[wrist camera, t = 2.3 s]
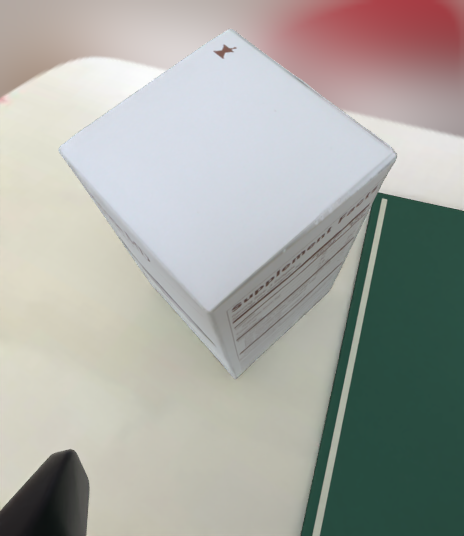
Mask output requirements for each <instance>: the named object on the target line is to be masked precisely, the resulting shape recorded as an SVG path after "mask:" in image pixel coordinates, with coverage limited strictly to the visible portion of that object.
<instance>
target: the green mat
mask: <svg viewBox="0 0 464 536" xmlns="http://www.w3.org/2000/svg"><path fill="white" fill-rule="evenodd" d="M301 536H464V211H461V210H457V209H452V208H447V207H443V206H438V205H434V204H429V203H424V202H420V201H415V200H411V199H406V198H401V197H397V196H392V195H388V194H383V193H377V195H376V197H375V199H374V201H373V203H372V207H371V211H370V216H369V221H368V225H367V230H366V235H365V239H364V244H363V249H362V253H361V258H360V262H359V267H358V272H357V276H356V281H355V286H354V290H353V295H352V300H351V304H350V309H349V313H348V318H347V323H346V327H345V332H344V337H343V341H342V346H341V351H340V355H339V360H338V364H337V369H336V374H335V378H334V383H333V388H332V392H331V397H330V402H329V406H328V411H327V415H326V420H325V425H324V429H323V434H322V439H321V443H320V448H319V453H318V457H317V462H316V467H315V471H314V476H313V480H312V485H311V490H310V494H309V499H308V504H307V508H306V513H305V518H304V522H303V527H302V531H301Z"/></svg>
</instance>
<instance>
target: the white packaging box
mask: <svg viewBox="0 0 464 536" xmlns="http://www.w3.org/2000/svg"><path fill="white" fill-rule="evenodd" d="M59 153H60V154H61V155H62V157H63V158H64V160H65V161H66V162H67V164H68V165H69V167H70V168H71V169H72V171H73V172H74V173H75V175H76V176H77V178H78V179H79V180H80V182H81V183H82V185H83V186H84V188H85V189H86V191H87V192H88V194H89V195H90V196H91V198H92V199H93V201H94V202H95V204H96V205H97V207H98V208H99V209H100V211H101V212H102V214H103V215H104V217H105V218H106V219H107V221H108V222H109V224H110V225H111V227H112V228H113V230H114V231H115V233H116V234H117V236H118V237H119V239H120V240H121V242H122V243H123V245H124V246H125V248H126V249H127V250H128V252H129V253H130V255H131V256H132V258H133V259H134V261H135V262H136V263H137V265H138V266H139V268H140V269H141V271H142V272H143V274H144V275H145V276H146V278H147V279H148V281H149V282H150V284H151V285H152V286H153V287H154V288H155V289H156V290H157V291H158V292H159V293H160V294H161V295H162V296H163V298H164V299H165V300H166V301H167V302H168V303H169V304H170V306H171V307H172V308H173V309H174V310H175V311H176V312H177V314H178V315H179V316H180V317H181V318H182V319H183V320H184V322H185V323H186V324H187V325H188V326H189V327H190V328H191V330H192V331H193V332H194V333H195V334H196V335H197V336H198V337H199V339H200V340H201V341H202V342H203V343H204V344H205V345H206V346H207V348H208V349H209V350H210V351H211V352H212V353H213V354H214V355H215V357H216V358H217V359H218V360H219V361H220V362H221V363H222V365H223V366H224V367H225V368H226V369H227V371H228V372H229V373H230V374H231V375H232V377H233V378H234V379H236V378H238V377H239V376H240V375H241V374H242V373H243V372H244V371H245V370H246V369H247V368H248V367H249V366H250V365H251V364H252V363H253V362H254V361H255V360H256V359H257V358H259V357H260V356H261V355H262V354H263V353H264V352H265V351H266V350H267V349H268V348H269V347H270V346H271V345H272V344H273V343H275V342H276V341H277V340H278V339H279V338H280V337H281V336H282V335H283V334H284V333H285V332H286V331H287V330H289V329H290V328H291V327H292V326H293V325H294V324H295V323H296V322H297V321H298V320H299V319H300V318H301V317H302V316H304V315H305V314H306V313H307V312H308V311H309V310H310V309H311V308H312V307H313V306H314V305H315V304H316V303H317V302H319V301H320V300H321V299H322V298H323V297H324V296H325V295H326V294H327V293H328V292H329V290H330V289H331V287H332V285H333V283H334V281H335V279H336V277H337V275H338V273H339V272H340V270H341V268H342V265H343V263H344V261H345V259H346V257H347V255H348V253H349V251H350V249H351V247H352V245H353V243H354V241H355V238H356V236H357V234H358V232H359V230H360V228H361V226H362V224H363V222H364V220H365V217H366V215H367V213H368V211H369V209H370V207H371V205H372V203H373V201H374V199H375V197H376V195H377V193H378V191H379V189H380V187H381V185H382V183H383V181H384V179H385V178H386V176H387V174H388V172H389V171H390V169H391V167H392V166H393V164H394V163H395V161H396V158H397V154H396V152H395V151H394V150H393V148H392V147H390V146H389V145H388V144H387V143H385V142H384V141H382V140H381V139H380V138H378V137H377V136H376V135H375V134H373V133H372V132H370V131H369V130H368V129H366V128H365V127H363V126H362V125H360V124H359V123H358V122H356V121H355V120H354V119H352V118H351V117H350V116H348V115H347V114H346V113H344V112H343V111H342V110H340V109H339V108H338V107H336V106H335V105H334V104H332V103H331V102H329V101H328V100H327V99H325V98H324V97H323V96H321V95H320V94H319V93H317V92H316V91H315V90H313V89H312V88H311V87H310V86H309V85H308V84H306V83H305V82H304V81H302V80H301V79H299V78H298V77H296V76H295V75H293V74H292V73H290V72H289V71H288V70H286V69H285V68H283V67H282V66H281V65H280V64H278V63H277V62H275V61H274V60H273V59H271V58H270V57H269V56H267V55H266V54H264V53H263V52H262V51H261V50H259V49H258V48H257V47H255V46H254V45H253V44H251V43H250V42H249V41H247V40H246V39H245V38H243V37H242V36H241V35H239V33H237V32H236V31H235V30H233V29H228V30H226V31H225V32H223V33H222V34H220V35H219V36H217V37H215V38H214V39H212V40H211V41H209V42H207V43H206V44H204V45H203V46H202V47H200V48H198V49H197V50H196V51H194V52H193V53H191V54H190V55H188V56H187V57H185V58H184V59H183V60H181V61H180V62H178V63H177V64H175V65H174V66H173V67H171V68H170V69H168V70H167V71H165V72H164V73H162V74H161V75H160V76H158V77H157V78H155V79H154V80H153V81H151V82H150V83H148V84H147V85H145V86H144V87H143V88H141V89H140V90H138V91H137V92H135V93H134V94H132V95H131V96H129V97H128V98H127V99H125V100H124V101H122V102H121V103H119V104H118V105H117V106H115V107H114V108H112V109H111V110H109V111H108V112H107V113H105V114H104V115H102V116H101V117H100V118H98V119H96V120H95V121H94V122H92V123H91V124H89V125H88V126H86V127H85V128H83V129H82V130H81V131H79V132H78V133H76V134H75V135H74V136H72V137H71V138H70V139H69V140H68V141H66V142H65V143H64V144H63V145H61V146H60V147H59Z"/></svg>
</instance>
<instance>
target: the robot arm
mask: <svg viewBox="0 0 464 536" xmlns="http://www.w3.org/2000/svg"><path fill="white" fill-rule="evenodd" d="M88 503H89V480H88V477H87V475H86V473H85V470H84V468H83V466H82V464H81V462H80V460H79V457H78V455H77V453H76V452H75V451H74V450H71V449H69V450H65V451H61V452H57V453H54V454H52V455H51V456H50V457H49V458H48V459H47V460H46V461H45V462H44V463H43V464H42V465H41V467H40V468H39V469H38V470H37V471H36V472H35V473H34V474H33V475H32V477H31V478H30V479H29V480H28V481H27V482H26V483H25V484H24V485H23V486H22V488H21V489H20V490H19V491H18V492H17V493H16V494H15V495H14V496H13V497H12V499H11V500H10V501H9V502H8V503H7V504H6V505H5V506H4V507H3V508H2V510H1V511H0V536H86V531H87V517H88Z"/></svg>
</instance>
